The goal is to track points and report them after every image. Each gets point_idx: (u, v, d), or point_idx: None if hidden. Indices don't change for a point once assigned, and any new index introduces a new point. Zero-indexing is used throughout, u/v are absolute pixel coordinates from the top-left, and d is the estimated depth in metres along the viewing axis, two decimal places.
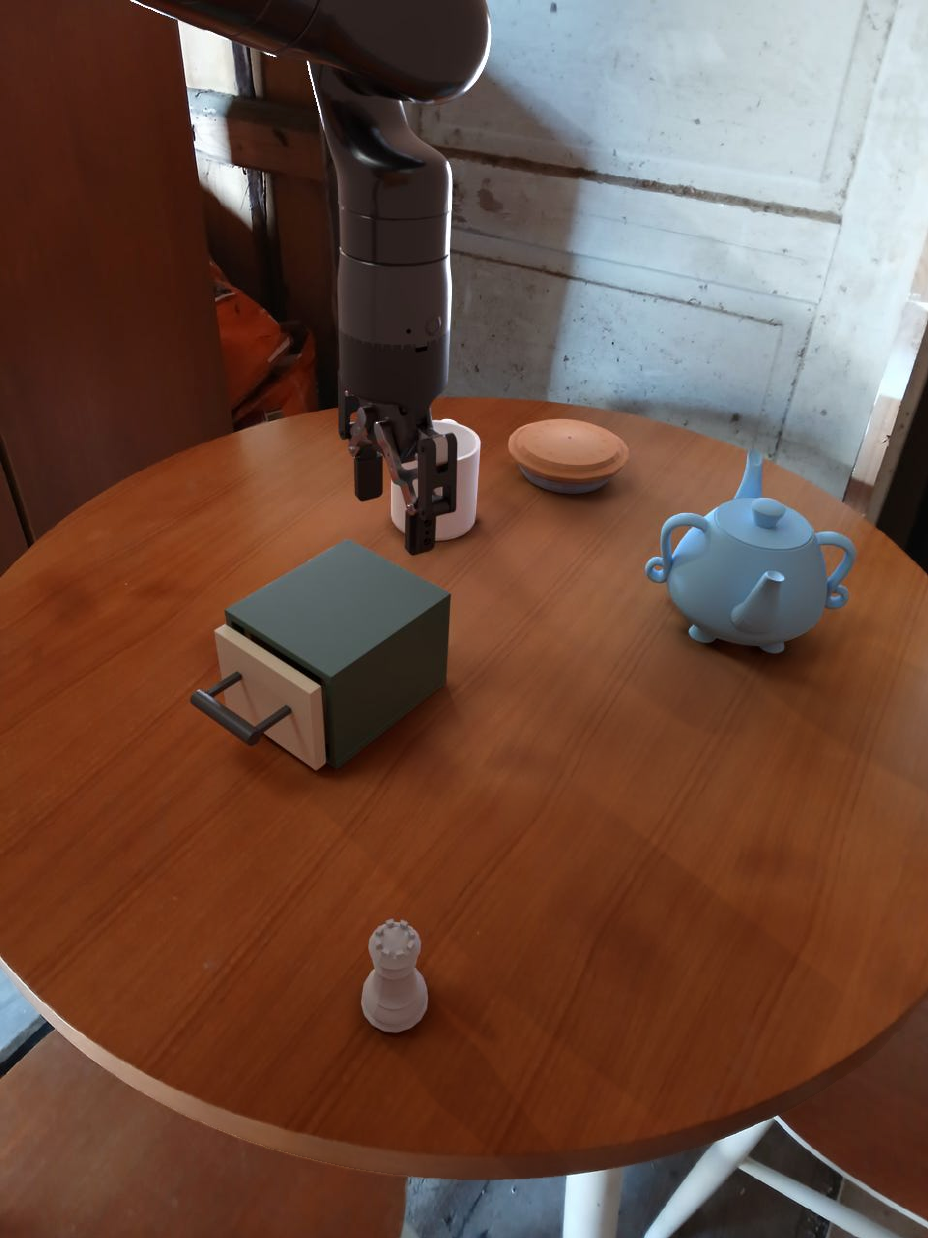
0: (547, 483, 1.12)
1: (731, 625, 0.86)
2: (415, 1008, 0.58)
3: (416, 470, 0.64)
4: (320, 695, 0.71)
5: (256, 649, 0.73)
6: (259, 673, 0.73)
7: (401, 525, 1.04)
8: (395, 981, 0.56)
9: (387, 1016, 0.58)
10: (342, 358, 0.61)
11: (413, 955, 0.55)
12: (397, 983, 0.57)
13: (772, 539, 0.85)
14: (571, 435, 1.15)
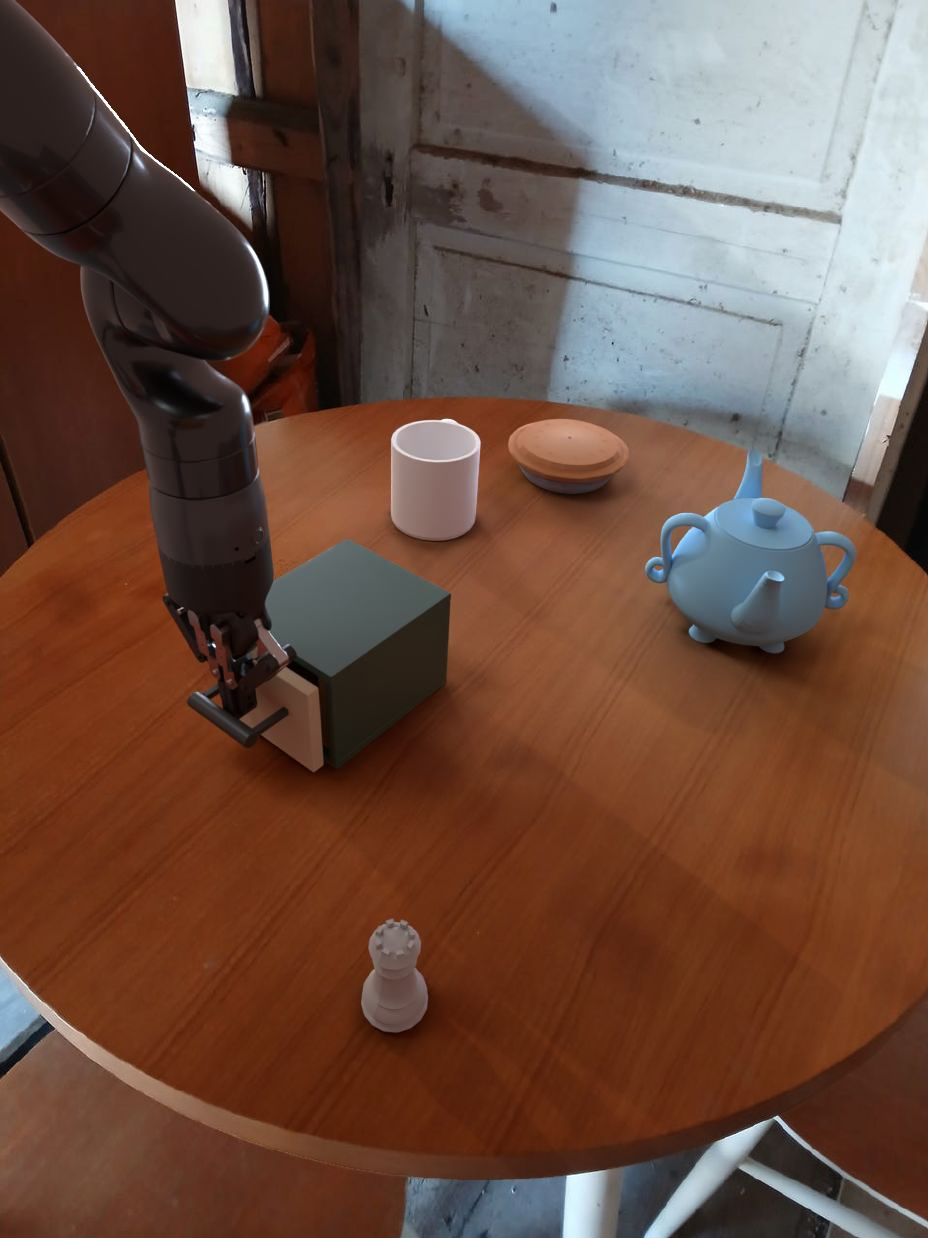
0: (547, 483, 1.12)
1: (731, 625, 0.86)
2: (415, 1008, 0.58)
3: (243, 658, 0.68)
4: (317, 697, 0.70)
5: None
6: None
7: (401, 525, 1.04)
8: (395, 981, 0.56)
9: (387, 1016, 0.58)
10: (169, 578, 0.61)
11: (413, 955, 0.55)
12: (397, 983, 0.57)
13: (772, 539, 0.85)
14: (571, 435, 1.15)
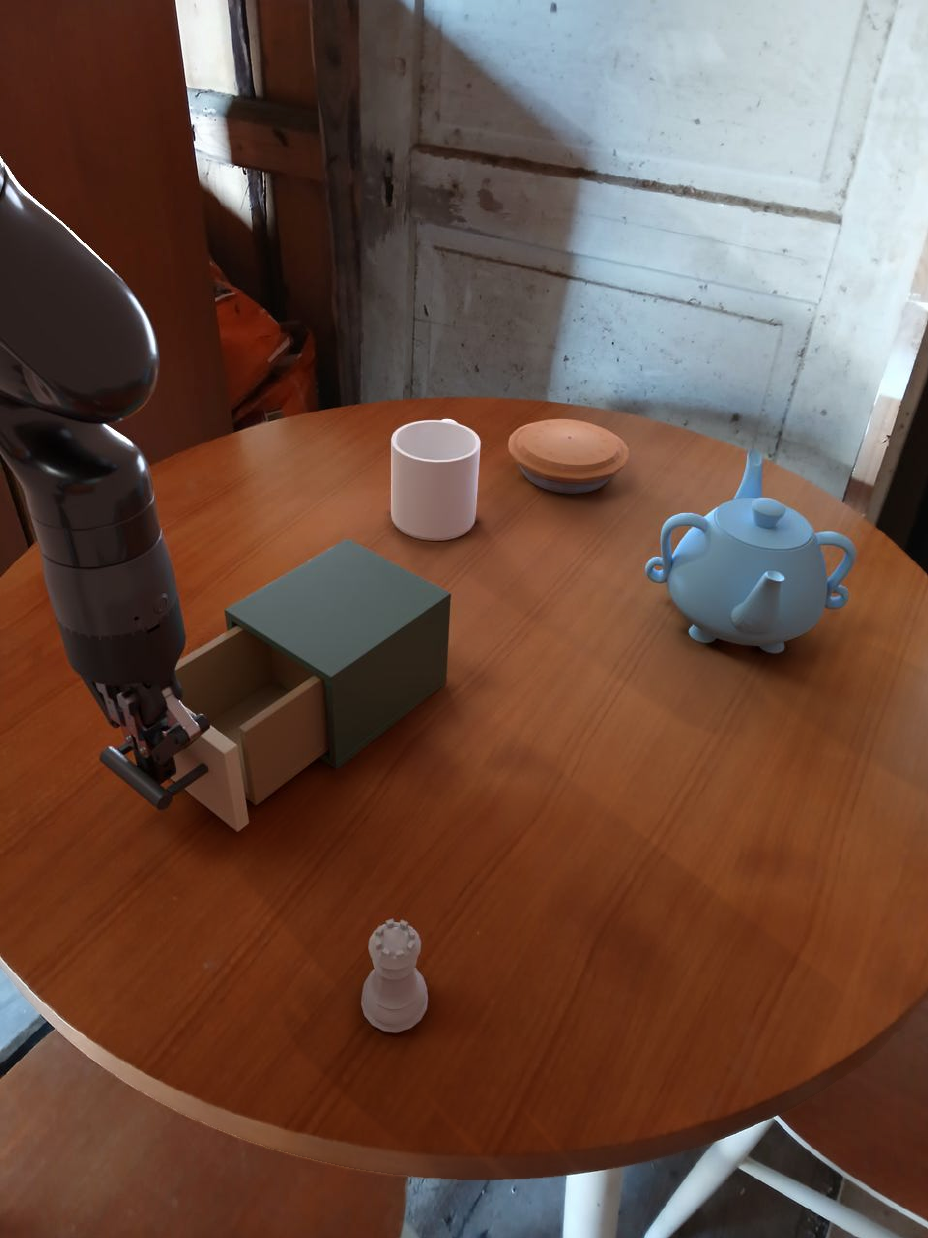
0: (547, 483, 1.12)
1: (731, 625, 0.86)
2: (415, 1008, 0.58)
3: (156, 726, 0.63)
4: (237, 754, 0.65)
5: None
6: None
7: (401, 525, 1.04)
8: (395, 981, 0.56)
9: (387, 1016, 0.58)
10: (67, 647, 0.57)
11: (413, 955, 0.55)
12: (397, 983, 0.57)
13: (772, 539, 0.85)
14: (571, 435, 1.15)
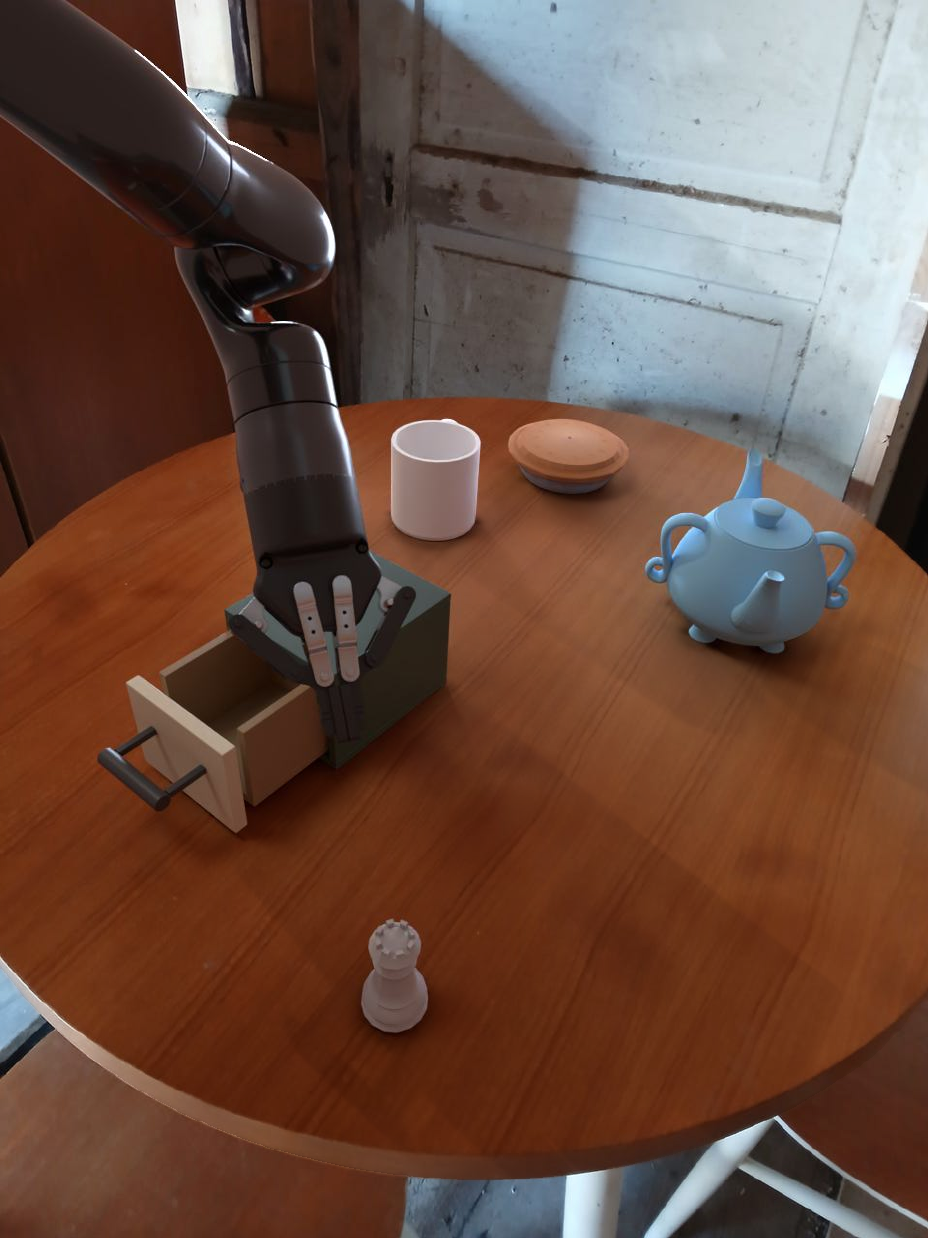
0: (547, 483, 1.12)
1: (731, 625, 0.86)
2: (415, 1008, 0.58)
3: None
4: (235, 756, 0.65)
5: (169, 704, 0.68)
6: (172, 730, 0.68)
7: (401, 525, 1.04)
8: (395, 981, 0.56)
9: (387, 1016, 0.58)
10: (304, 507, 0.57)
11: (413, 955, 0.55)
12: (397, 983, 0.57)
13: (772, 539, 0.85)
14: (571, 435, 1.15)
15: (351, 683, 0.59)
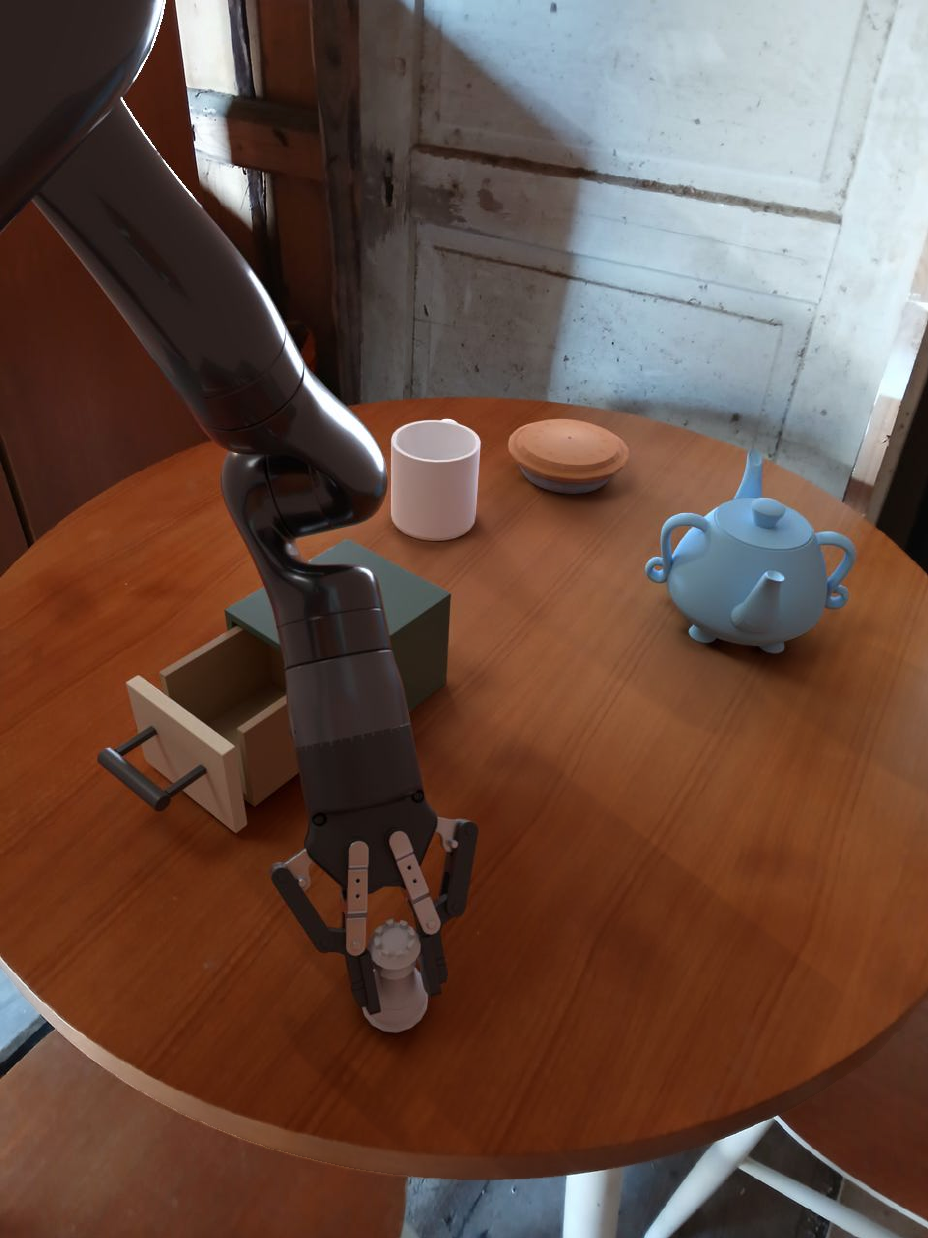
0: (547, 483, 1.12)
1: (731, 625, 0.86)
2: (415, 1008, 0.58)
3: None
4: (235, 756, 0.65)
5: (169, 704, 0.68)
6: (172, 730, 0.68)
7: (401, 525, 1.04)
8: (394, 981, 0.56)
9: (387, 1016, 0.58)
10: (362, 768, 0.54)
11: (413, 955, 0.55)
12: (397, 983, 0.57)
13: (772, 539, 0.85)
14: (571, 435, 1.15)
15: (431, 934, 0.57)
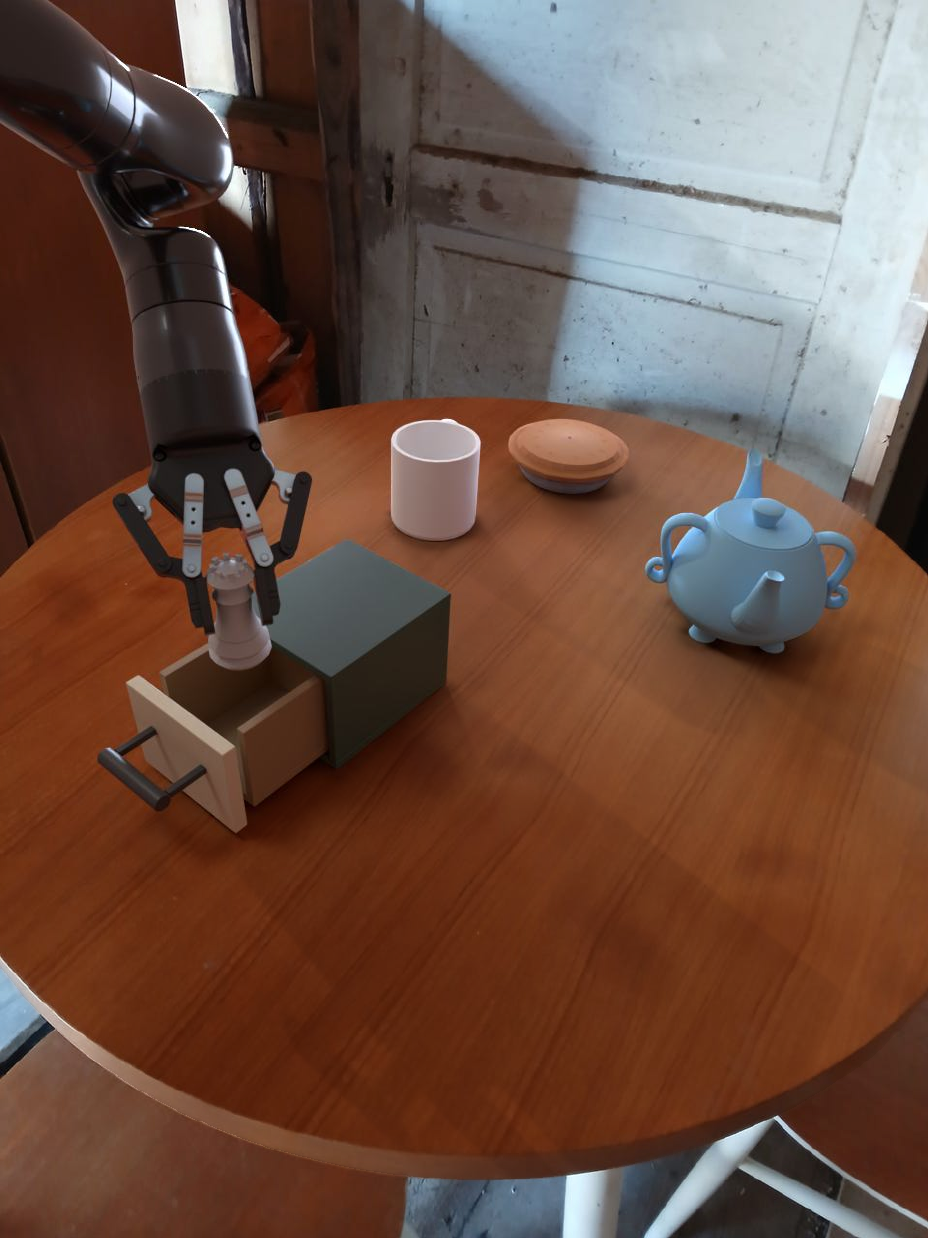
0: (547, 483, 1.12)
1: (731, 625, 0.86)
2: (254, 645, 0.63)
3: None
4: (235, 756, 0.65)
5: (169, 704, 0.68)
6: (172, 730, 0.68)
7: (401, 525, 1.04)
8: (231, 610, 0.62)
9: (227, 650, 0.63)
10: (194, 399, 0.59)
11: (245, 579, 0.60)
12: (234, 613, 0.62)
13: (772, 539, 0.85)
14: (571, 435, 1.15)
15: (266, 569, 0.62)
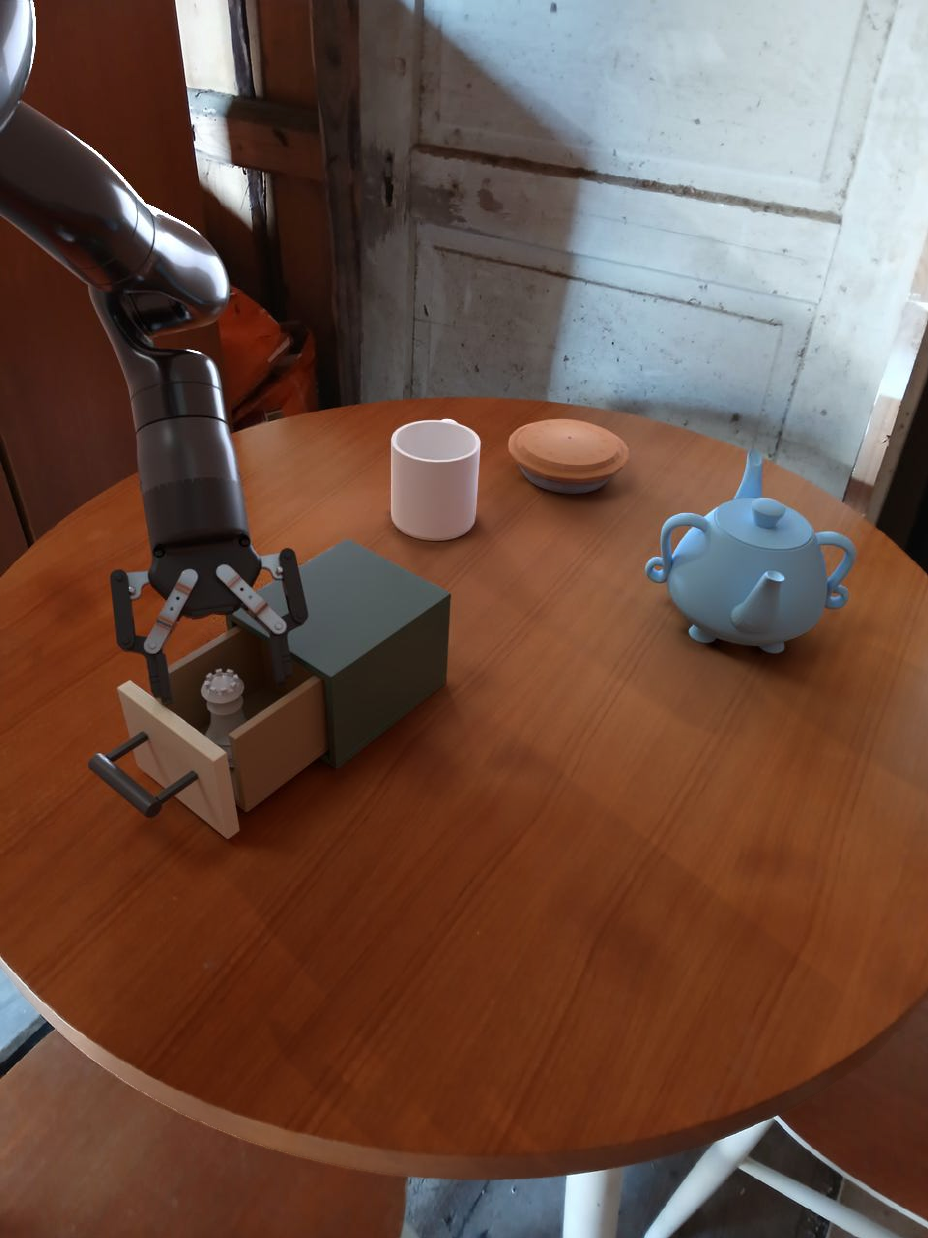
0: (547, 483, 1.12)
1: (731, 625, 0.86)
2: None
3: None
4: (226, 762, 0.65)
5: (160, 709, 0.67)
6: (163, 736, 0.67)
7: (401, 525, 1.04)
8: (224, 718, 0.71)
9: None
10: (191, 505, 0.66)
11: (236, 693, 0.69)
12: (226, 721, 0.71)
13: (772, 539, 0.85)
14: (571, 435, 1.15)
15: (280, 636, 0.70)
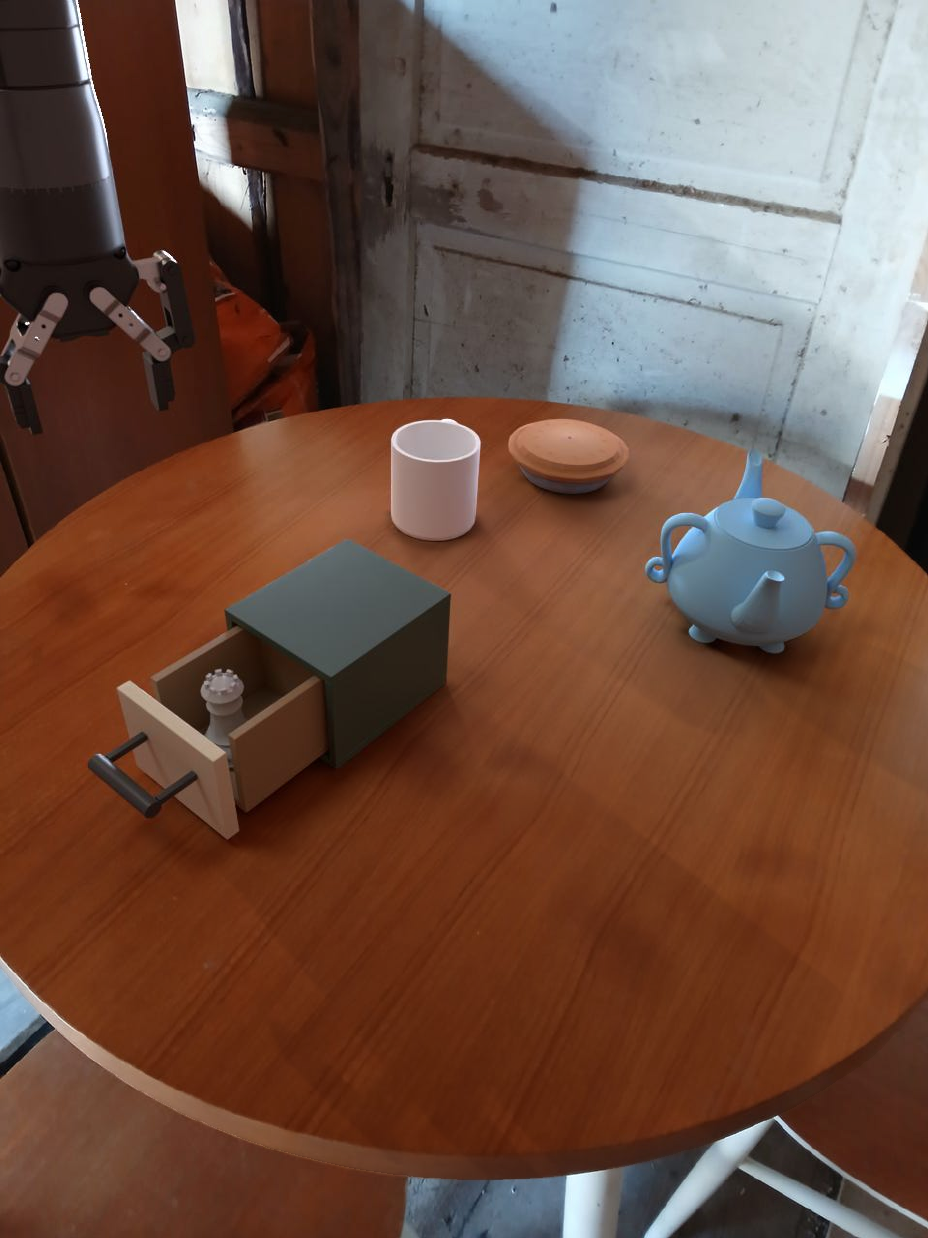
0: (547, 483, 1.12)
1: (731, 625, 0.86)
2: None
3: (138, 317, 0.61)
4: (226, 762, 0.65)
5: (160, 710, 0.67)
6: (163, 736, 0.67)
7: (401, 525, 1.04)
8: (224, 719, 0.71)
9: None
10: (61, 225, 0.52)
11: (235, 693, 0.69)
12: (226, 721, 0.71)
13: (772, 539, 0.85)
14: (571, 435, 1.15)
15: (162, 360, 0.63)
